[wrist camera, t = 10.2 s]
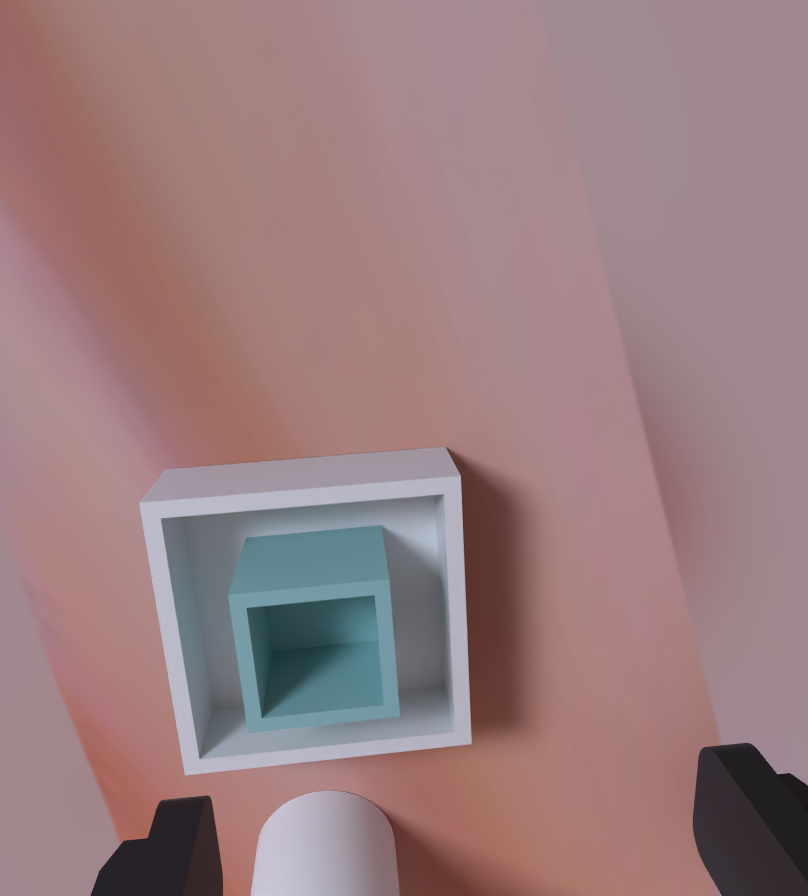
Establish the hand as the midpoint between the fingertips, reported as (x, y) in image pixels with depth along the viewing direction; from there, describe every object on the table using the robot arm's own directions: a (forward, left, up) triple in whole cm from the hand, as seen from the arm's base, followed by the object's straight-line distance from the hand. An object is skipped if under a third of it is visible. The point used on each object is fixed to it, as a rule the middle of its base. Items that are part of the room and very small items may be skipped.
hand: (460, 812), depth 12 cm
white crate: (+6, -3, -22) cm, 23 cm away
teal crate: (+6, -3, -21) cm, 22 cm away
